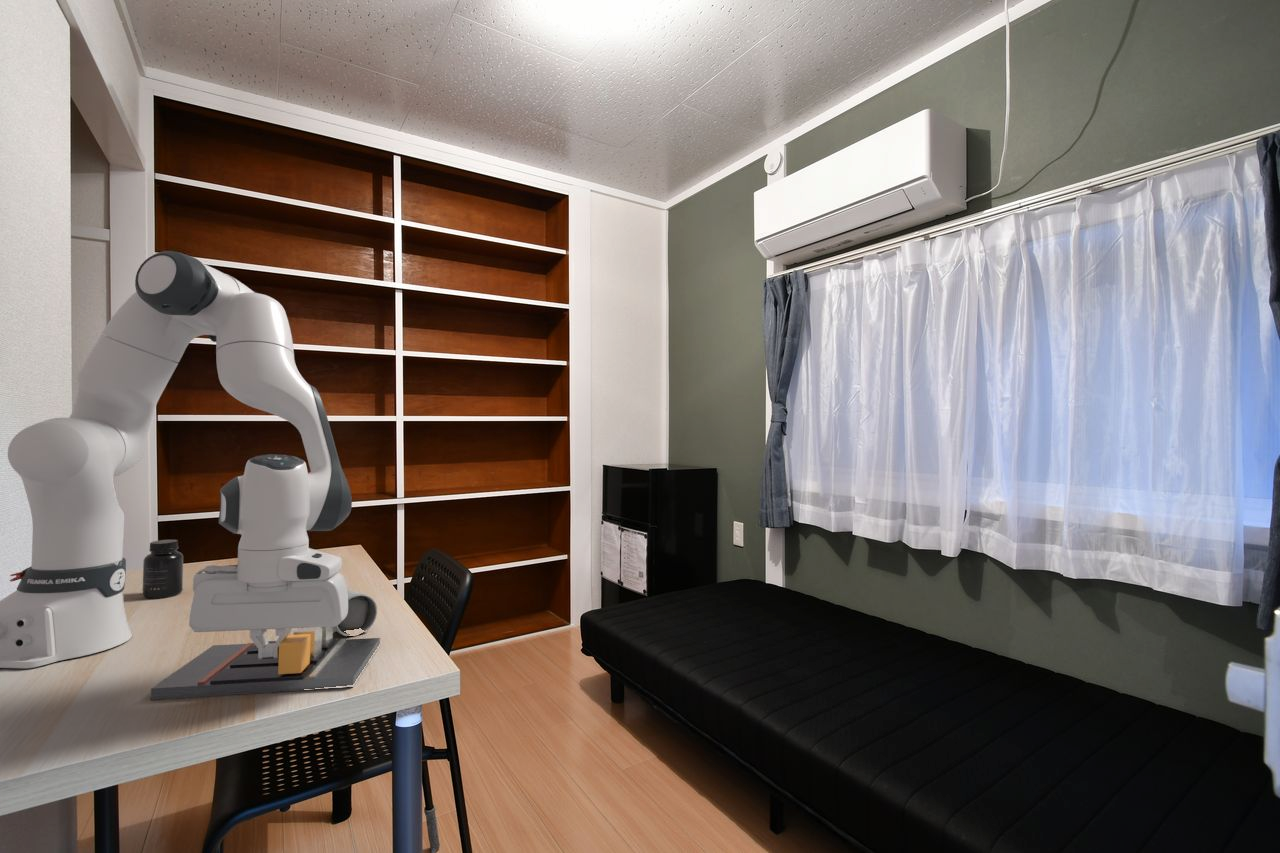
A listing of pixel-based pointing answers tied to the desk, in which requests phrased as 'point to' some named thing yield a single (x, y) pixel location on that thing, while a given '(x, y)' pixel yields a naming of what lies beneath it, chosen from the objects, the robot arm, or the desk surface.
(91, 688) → the desk surface
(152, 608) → the desk surface
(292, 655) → the toggle
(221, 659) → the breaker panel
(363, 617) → the ceramic mug
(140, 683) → the desk surface
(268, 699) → the desk surface
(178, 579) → the supplement bottle
